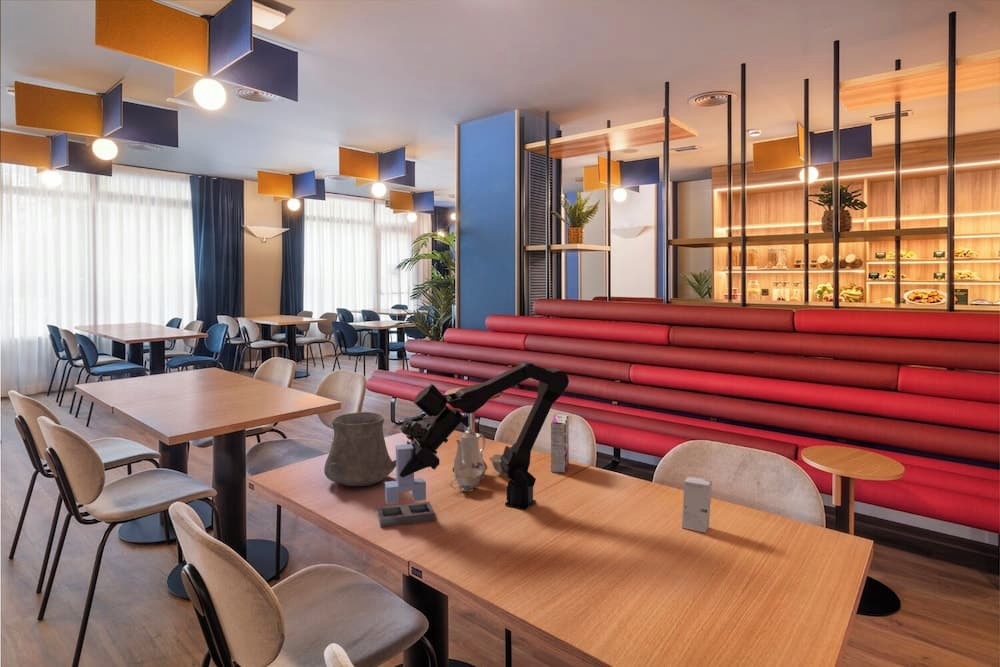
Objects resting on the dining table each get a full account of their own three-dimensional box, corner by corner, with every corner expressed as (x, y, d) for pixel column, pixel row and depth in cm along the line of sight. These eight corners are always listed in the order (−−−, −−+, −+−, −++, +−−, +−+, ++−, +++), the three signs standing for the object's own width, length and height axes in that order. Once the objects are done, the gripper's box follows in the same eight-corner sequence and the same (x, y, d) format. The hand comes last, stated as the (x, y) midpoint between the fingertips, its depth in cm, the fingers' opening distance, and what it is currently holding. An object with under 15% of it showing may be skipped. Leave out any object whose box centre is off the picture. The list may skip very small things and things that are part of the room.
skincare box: (681, 528, 147) (682, 481, 146) (685, 521, 151) (686, 475, 150) (707, 533, 144) (708, 485, 143) (710, 526, 148) (712, 479, 147)
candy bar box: (554, 461, 200) (554, 414, 199) (568, 462, 199) (569, 414, 198) (550, 472, 189) (550, 422, 188) (565, 473, 188) (566, 422, 187)
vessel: (383, 497, 168) (382, 428, 166) (311, 492, 172) (309, 424, 170) (408, 472, 190) (407, 410, 188) (344, 468, 193) (342, 408, 192)
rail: (429, 508, 160) (429, 501, 159) (435, 520, 152) (434, 513, 152) (377, 515, 156) (377, 507, 155) (380, 527, 148) (380, 519, 148)
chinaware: (473, 504, 167) (478, 448, 165) (426, 487, 176) (430, 433, 173) (521, 475, 191) (526, 426, 189) (478, 462, 200) (482, 414, 197)
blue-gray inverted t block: (423, 494, 157) (422, 442, 156) (426, 500, 153) (425, 447, 151) (385, 498, 154) (383, 446, 153) (387, 504, 150) (385, 450, 148)
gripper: (413, 400, 161) (373, 444, 159) (425, 416, 143) (380, 465, 141) (442, 426, 164) (403, 469, 162) (457, 445, 146) (414, 493, 144)
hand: (399, 473), depth 152 cm, fingers closed on blue-gray inverted t block, 4 cm apart
